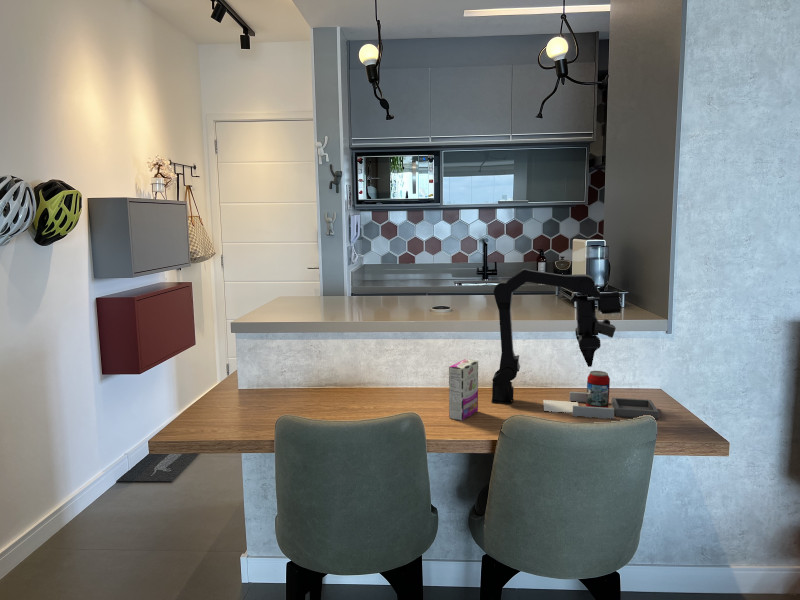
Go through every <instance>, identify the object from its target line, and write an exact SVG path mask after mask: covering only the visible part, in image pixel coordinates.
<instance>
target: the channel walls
mask: <svg viewBox="0 0 800 600" xmlns="http://www.w3.org/2000/svg"><path fill="white" fill-rule="evenodd" d="M586 398H587V392H583V391H582V392H580V391H569V397H568V399H569V401H568V402H571V401H576V402H578V403H586ZM572 416H573V417H577V416H585V417H584V418H592V417H598V418H597V419H607V418H610V419H609V420H614V419H615V413H614V408H612V407H608V408H603V407H587V406H586V405H579V406H573V413H572ZM611 418H612V419H611Z"/></svg>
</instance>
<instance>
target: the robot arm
mask: <svg viewBox="0 0 800 600" xmlns="http://www.w3.org/2000/svg"><path fill="white" fill-rule="evenodd" d="M526 283H531V284H532V283H533V284H539V285H546V286H552V287H559V288H560V287H561V288H564V289H566V290H569V291H572V292H574V293H573V295H572V296H571V297H570V298H569V302H571V303H575V305H576V323H577V324H576V325H577V327H576V328H575V333H574V334H575V338H576V340H577V343H578V347H579V349H580V353H581V355H582V356H583V358H584V361H585V363H586V365H587V367H589V368H591V367H592V366H593V361H594V357H595V352H596V351H597V350H599V349H600V348H601V339H600V338H599V337H598V336H599V334H601V335H604V336H606V337H609V338H613V337H614V334H615V332H616V328H617V327H616V326H615V325H614V324H611V321H610V319H607V318H604V319H603V320H600V321H599V319H598V318H597V317H596V316H597V315H596V311H598V312H600V313H601V315H609V314H621V313H622V303H621V301H620V300H621V299H620V293H619V291H617V290H616V291H612V292H611V291H610V292H609V291H608V292H600V289H598V288H597V287H596V285H595V281H594V279H593V277H592V276H591V275H589V274H582V273H581V274H561V273H560V274H558V273H553V272H548V271H547V272H545V271H539V270H531V269H528V268H523V269H521V270H520V271H519V272H518V273H516V274H515V275H513V276H512V277H510V278H509V279H508V280H502V281H499V282H498V283H497V284H496V285H495V287H494V289H493V295H494V299H495V303H496V306H497V309H498V316H499V331H500V332H499V334H500V347H501V348H500V350H501V355H500V361H499V362H500V363H499V369H498V370H497V371H495V372H494V375H493V377H492V384H491V386H492V390H491V392H492V393H491V395H492V397H491V403H494V404H509V405H511V404H512V401H513V402H514V392H515V391H514V390H515V388H514V386H513V380H515V379H516V377H517V376H518V372H519V371H520V368H521V365H520V362H519V361H520V355H516V354H515V350H514V339H513V323H512V311H511V310H512V302H513V296H514V294H513V293H514V292H515V291H516V290H517V289H519V288H520V287H521V286H523V285H524V284H526ZM577 293H578V294H581V295H578V294H577ZM588 295H589V296H591V297H588ZM596 306H597V310H596Z"/></svg>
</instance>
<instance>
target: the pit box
mask: <svg viewBox="0 0 800 600" xmlns="http://www.w3.org/2000/svg"><path fill="white" fill-rule="evenodd" d="M610 405H611V408H614V416H615V417H616V416H620V417H619V418H626V417H628V418H630V419H634V418H633V417H639V416H643V415H651V416H653V417H654V418H655V419H654V420H659V410H658V409H657V407H656V406H655V404H654V402H653V401H652V399H643V398H626V397H625V398H624V397H611V403H610Z"/></svg>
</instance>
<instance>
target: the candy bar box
mask: <svg viewBox="0 0 800 600" xmlns="http://www.w3.org/2000/svg"><path fill="white" fill-rule="evenodd" d="M448 393H449V394H448V400H449V401H448V414H449V415H448V417H449V419H451V420H455V421H459V422H460V421H462V422H463V421H465V420H467V419H468V418H469V417H471V416H473V415H474V414H475V413H476V412H478V411H479V360H475V359H468V358H466V359H465V358H464V359H463V360H461V361H458V362H457V363H454V364H452V365H450V366H448Z"/></svg>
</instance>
